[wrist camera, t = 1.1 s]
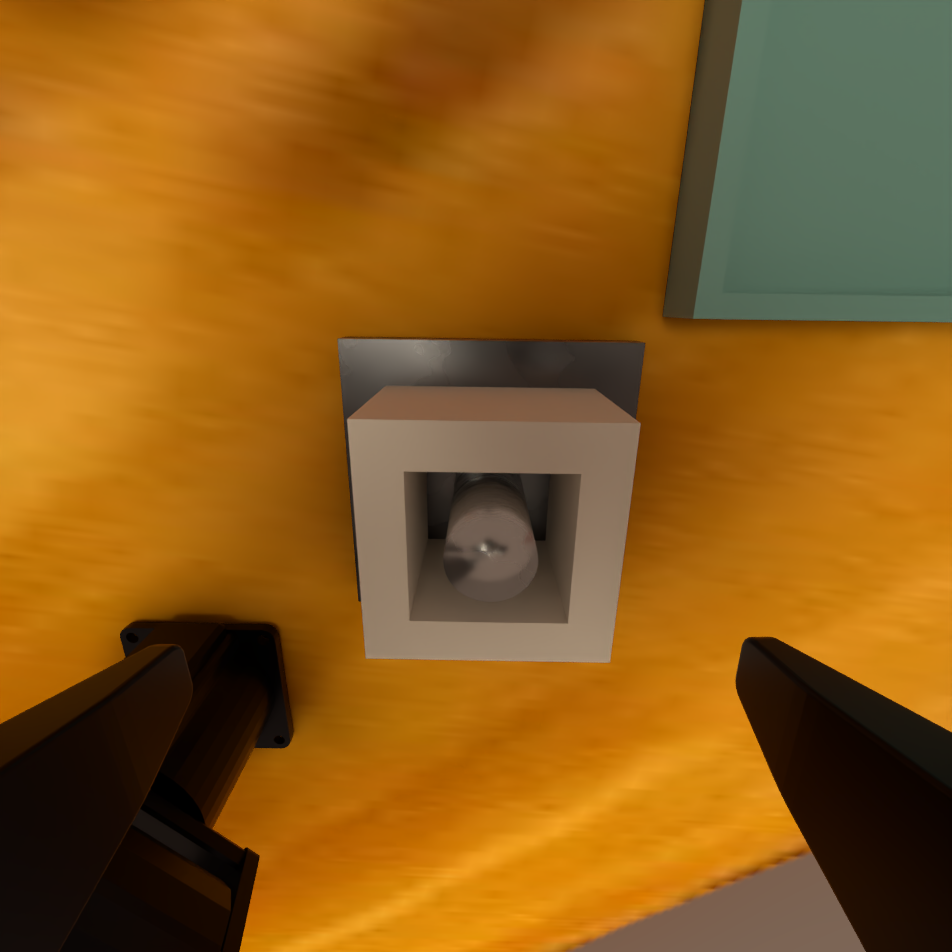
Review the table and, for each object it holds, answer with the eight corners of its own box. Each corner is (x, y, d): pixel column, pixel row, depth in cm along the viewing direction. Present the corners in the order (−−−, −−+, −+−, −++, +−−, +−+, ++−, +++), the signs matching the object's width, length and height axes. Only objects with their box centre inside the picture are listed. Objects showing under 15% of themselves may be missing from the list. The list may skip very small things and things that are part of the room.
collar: (577, 571, 19) (609, 662, 14) (395, 568, 19) (365, 658, 14) (594, 388, 16) (640, 423, 12) (385, 385, 16) (347, 419, 12)
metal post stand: (606, 591, 20) (660, 718, 14) (364, 587, 20) (313, 712, 14) (635, 340, 17) (726, 362, 11) (345, 336, 17) (267, 355, 11)
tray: (1031, 321, 16) (1124, 324, 14) (662, 316, 16) (692, 318, 14) (1227, -197, 12) (1406, -317, 10) (732, -200, 12) (791, -320, 10)
